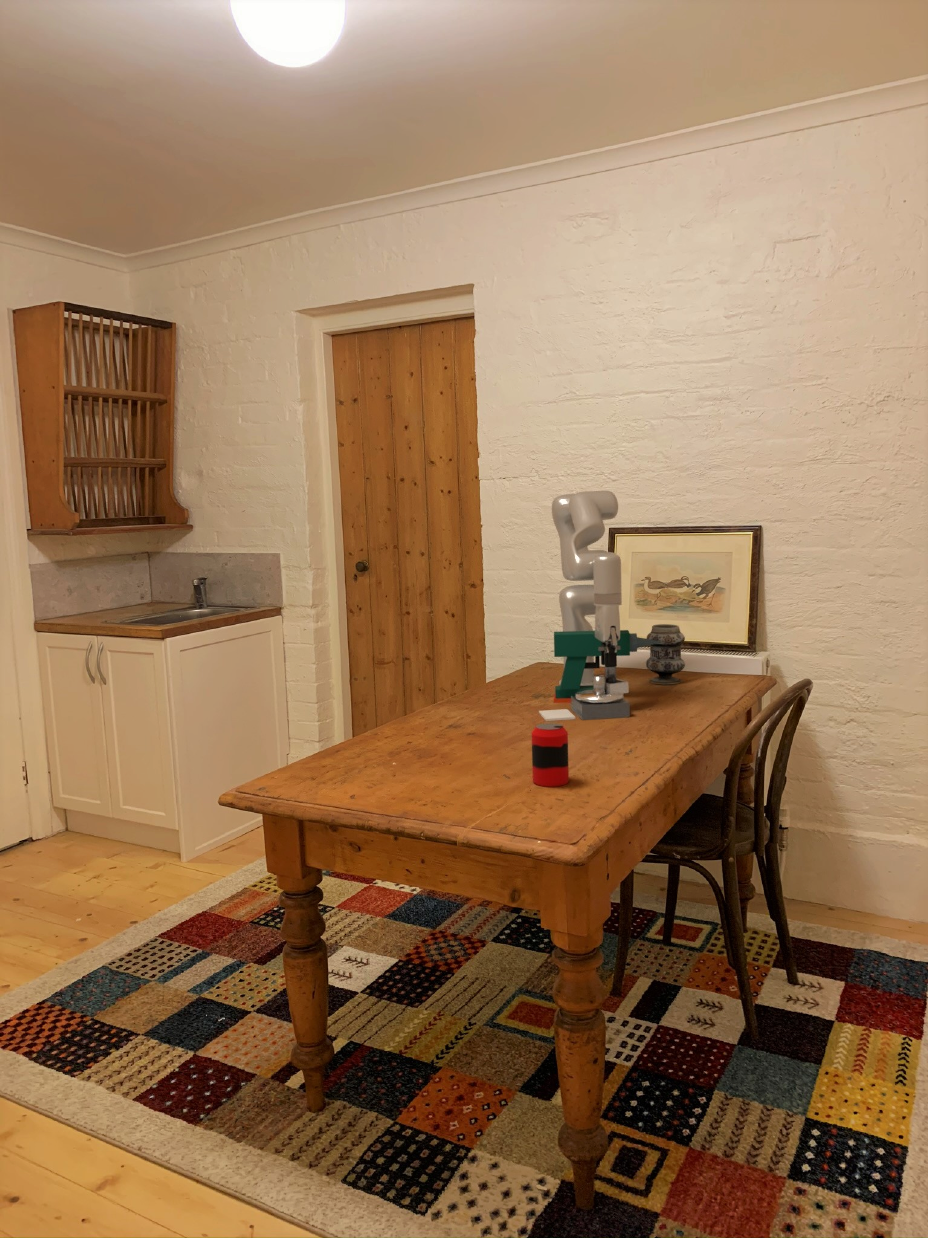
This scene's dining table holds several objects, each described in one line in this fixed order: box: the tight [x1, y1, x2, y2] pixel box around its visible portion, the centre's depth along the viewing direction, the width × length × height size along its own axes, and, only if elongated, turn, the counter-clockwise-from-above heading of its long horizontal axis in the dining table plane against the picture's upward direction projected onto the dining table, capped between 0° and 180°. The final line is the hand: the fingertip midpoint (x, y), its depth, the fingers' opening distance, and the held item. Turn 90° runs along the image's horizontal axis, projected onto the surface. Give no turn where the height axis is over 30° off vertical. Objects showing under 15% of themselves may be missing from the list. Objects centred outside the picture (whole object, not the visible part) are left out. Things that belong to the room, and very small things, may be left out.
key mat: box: [538, 708, 576, 722], centre depth 261 cm, size 10×8×1 cm
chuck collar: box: [576, 674, 630, 703], centre depth 261 cm, size 13×14×6 cm
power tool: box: [553, 629, 661, 704], centre depth 278 cm, size 32×7×20 cm, turn 84°
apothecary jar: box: [645, 623, 686, 686], centre depth 301 cm, size 12×12×18 cm
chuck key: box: [598, 646, 621, 683], centre depth 263 cm, size 3×6×10 cm, turn 85°
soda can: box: [531, 722, 570, 788], centre depth 200 cm, size 8×8×12 cm
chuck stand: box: [570, 695, 630, 721], centre depth 262 cm, size 13×13×4 cm
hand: (608, 665), depth 263 cm, fingers closed on chuck key, 3 cm apart
